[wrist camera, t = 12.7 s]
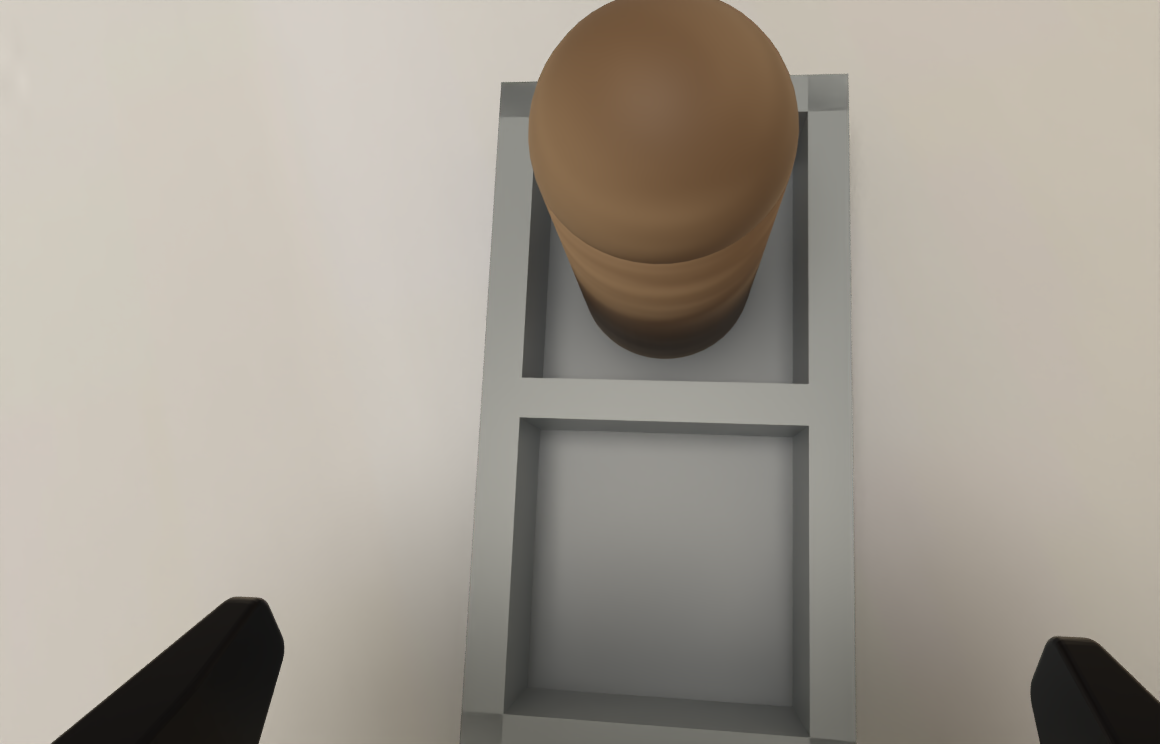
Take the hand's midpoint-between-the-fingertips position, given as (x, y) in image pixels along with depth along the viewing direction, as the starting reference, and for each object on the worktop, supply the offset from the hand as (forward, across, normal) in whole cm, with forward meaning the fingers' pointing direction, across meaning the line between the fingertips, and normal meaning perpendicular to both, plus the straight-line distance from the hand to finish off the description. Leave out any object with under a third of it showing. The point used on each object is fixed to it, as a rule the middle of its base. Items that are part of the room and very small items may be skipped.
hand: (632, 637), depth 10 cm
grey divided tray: (+13, 0, +6) cm, 14 cm away
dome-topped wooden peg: (+15, 0, +3) cm, 15 cm away
